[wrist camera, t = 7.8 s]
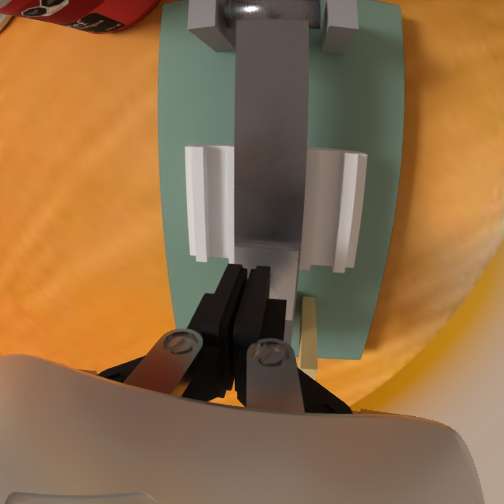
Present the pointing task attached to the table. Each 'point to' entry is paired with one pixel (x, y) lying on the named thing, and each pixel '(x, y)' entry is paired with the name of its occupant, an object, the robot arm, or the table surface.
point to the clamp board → (317, 166)
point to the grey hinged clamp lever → (271, 137)
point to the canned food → (82, 12)
